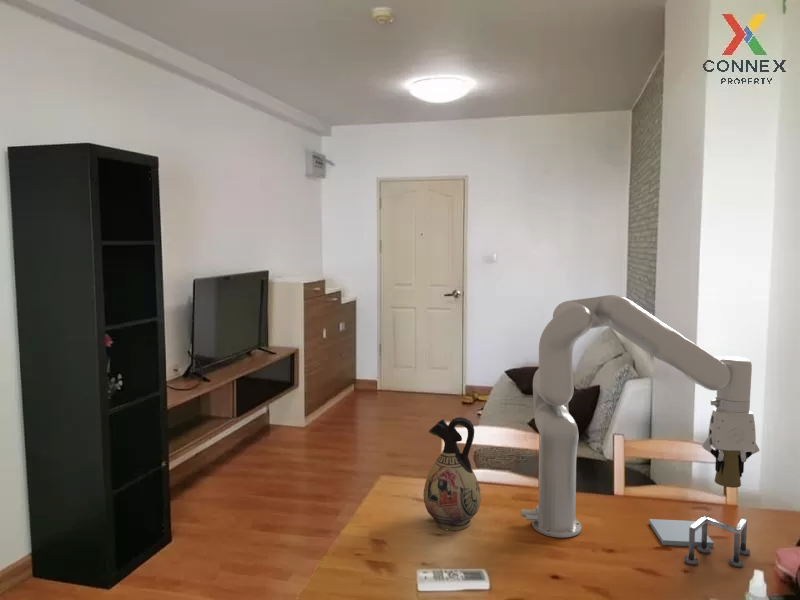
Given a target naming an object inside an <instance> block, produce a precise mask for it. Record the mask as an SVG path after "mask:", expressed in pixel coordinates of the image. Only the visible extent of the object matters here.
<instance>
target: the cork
mask: <svg viewBox="0 0 800 600" xmlns="http://www.w3.org/2000/svg"><path fill="white" fill-rule="evenodd" d="M740 452H741V451H723V454H724V457H723V460H722V461H724V469H723V473H722V472H721V467H720V471H719V472H717V471H716V470H715V476H714V477H715V478H714V483H715V484H717V485H719V486H722V487H725V488H731V489H732V488H733V489H734V488H740V487H741V486H742V481H741V477H740V474H739V459H738V455H739V454H740Z"/></svg>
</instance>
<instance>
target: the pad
mask: <svg viewBox="0 0 800 600" xmlns="http://www.w3.org/2000/svg"><path fill="white" fill-rule="evenodd" d="M695 522H697V520H682V519H681V520H678V519H676V520H675V519H659V518H657V519H656V518H655V519H654V518H649V519H648V524H649V525H651V526H650V527H651V529H652V530H653V532H654V533H655V535H656V536H657V538H658V539H659V541H660V542H661V544H662V546H677V547H678V546H681V547H689V527H690V526H692V525H693V524H694V523H695ZM701 540H702V526H701V527H700V528H699V529H698V530H696V531H695V547H696V548H697V546H698V545H701ZM714 543H715V542H714V541H713V540H712V539H711V538H710V536H709V535H708V534H707V546H709V547H710V548H714Z"/></svg>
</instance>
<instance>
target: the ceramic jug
mask: <svg viewBox="0 0 800 600" xmlns="http://www.w3.org/2000/svg"><path fill="white" fill-rule="evenodd" d="M456 426H463V427H464V428H465V429H466V430H467V437H466V441H465V445H464V447H463V450H462V453H461V451H460V448H459V447H458V444H457V443H458V442H462V441H463V436H462V435H461V434H460V432H458V431H457V429H456ZM428 433H429V434H431V435H433V436H436V437H438V438H440V439H441V440H442V441H443V444H444V446H443V450H442V452H441V453H440V455H438V457H437V458H436V460H435V462H434V463H433V465H432V466H431V468H430V469H429V472H428V474H427V477H426V480H425V484H424V489H423V494H422V495H423V503H424V506H425V509H426V511H427V513H428V514H429V516H431V518H432V519H433V520H434V521H435V522H436V523H435V525H436V524H437V525H438V526H439V527H441V528H443V530H445V529H448V530H447V531H458V530H463V529H466V528H469V527H470V526H471V520H472V519H473V518H474V516H476V514H478V512H479V509H480V507H481V502H482V497H481V494H482V493H481V488H480V484H479V481H478V478H477V476H476V474H475V472H474V470H473V469H472V464H471V462H470V458H469V454H470V451H471V447H472V444H473V441H474V439H475V437H474V436H475V428H474V424H473V423H472V421H471V420H469V419H468V418H466V417H462V416H461V417H455V418H452V420H450V422H449V423H448V424H447V422H446V420H445V419H441V420H440V421H438V422H437V423H436V424H434V426H432V427H431V428H430V429H429V430H428ZM437 525H436V526H437ZM438 526H437V527H438ZM439 527H438V528H439ZM441 528H440V529H441Z"/></svg>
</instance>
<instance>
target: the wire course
mask: <svg viewBox="0 0 800 600" xmlns="http://www.w3.org/2000/svg"><path fill="white" fill-rule="evenodd" d="M708 525H712V526H714V527H716V528H720V529H721V530H724V531H728V532H730V533H732V534H734V535H733V557H730V558H728V565H730V566H731V567H733V568H737V569H742V568H744V565H745V564H744V563H745V562H744V561H743V560H742V559H740V556H746V557H748V556H750V555H751V550H750V549H749V548H747V531H748V530H747V529H748V518H746V517H741V519H740V521H739V522H738V523H737V525H736V527H735V526H732V525H729V524H727V523H724V522H722V521H719V520H717V519H713V518H710V517H708V516H706V515H702V517H700V518H699V519H697V520H696V522H695V523H694V524H693V525H692V526H690V527H689V546H688V555H685V556H684V557H683V559H684V560H683V562H684V563H685V564H686V565H690V566H695V567H696V566H698V565H699V559H698V558H697V557H695V547H696V546H695V531H696V530H698V529H699V528H700V527H701V528H702V540H701V545H698V546H697V547H696V551H697V552H699V553H701V554H705V555H708V554H711V553H712V549H711V548H712V547H709V546H707V535H708Z"/></svg>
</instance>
